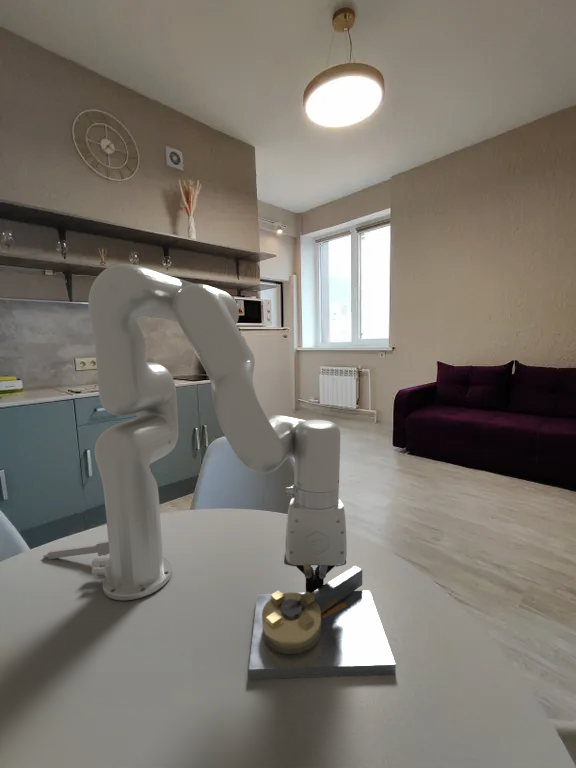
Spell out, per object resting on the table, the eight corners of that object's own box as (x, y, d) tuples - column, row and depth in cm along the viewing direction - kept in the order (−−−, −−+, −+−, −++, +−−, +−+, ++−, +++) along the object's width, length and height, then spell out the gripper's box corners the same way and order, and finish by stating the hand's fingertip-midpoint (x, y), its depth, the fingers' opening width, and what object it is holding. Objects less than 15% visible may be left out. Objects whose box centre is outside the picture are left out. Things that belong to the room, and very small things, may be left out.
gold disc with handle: (251, 627, 56) (250, 604, 56) (340, 572, 69) (340, 553, 69) (288, 665, 49) (287, 640, 49) (379, 596, 62) (379, 575, 62)
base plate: (249, 679, 49) (248, 668, 49) (257, 602, 64) (257, 593, 64) (395, 674, 49) (395, 663, 49) (369, 598, 64) (369, 589, 64)
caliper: (130, 563, 77) (130, 533, 77) (127, 565, 76) (127, 535, 76) (46, 556, 80) (46, 528, 81) (42, 558, 79) (42, 530, 80)
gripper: (271, 503, 57) (270, 610, 59) (365, 504, 57) (361, 611, 59) (272, 485, 64) (272, 580, 67) (356, 485, 65) (353, 581, 67)
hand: (314, 595), depth 63 cm, fingers closed
